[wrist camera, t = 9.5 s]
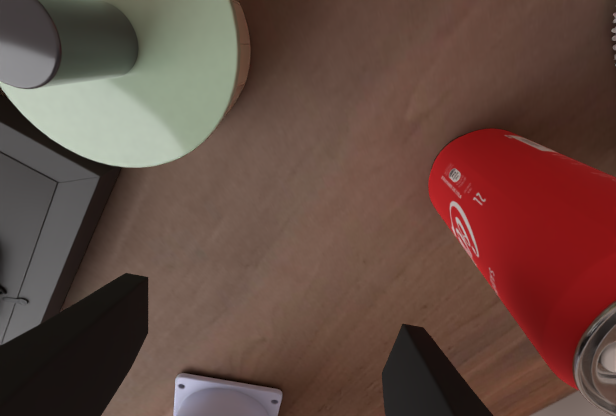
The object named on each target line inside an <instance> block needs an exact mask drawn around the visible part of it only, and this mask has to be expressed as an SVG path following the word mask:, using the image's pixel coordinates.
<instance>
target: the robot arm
mask: <svg viewBox="0 0 616 416" xmlns="http://www.w3.org/2000/svg"><path fill="white" fill-rule="evenodd" d="M147 334H148V277H144V276H139V275H133V274H128V273H125V274H123V275H122V276H120V277H118V278H117V279H115V280H113V281H112V282H110V283H108V284H107V285H105V286H103V287H102V288H100V289H98V290H97V291H95V292H94V293H92V294H90V295H89V296H87V297H85V298H84V299H82V300H80V301H79V302H77V303H75V304H74V305H72V306H70V307H69V308H67V309H65V310H64V311H62V312H60V313H58V314H57V315H55V316H53V317H52V318H50V319H48V320H46V321H45V322H43V323H41V324H39V325H38V326H36V327H34V328H32V329H30V330H28V331H26V332H25V333H23V334H21V335H19V336H17V337H15V338H14V339H12V340H10V341H8V342H6V343H4V344H3V345H1V346H0V416H101V415H102V413H103V411H104V410H105V408H106V407H107V405H108V404H109V402H110V401H111V399H112V397H113V396H114V394H115V393H116V391H117V389H118V388H119V386H120V385H121V383H122V381H123V380H124V378H125V377H126V375H127V373H128V372H129V370H130V369H131V367H132V365H133V363H134V361H135V359H136V357H137V355H138V353H139V351H140V349H141V346H142V344H143V342H144V340H145V338H146V336H147ZM382 383H383V397H384V407H385V415H386V416H493V415H492V413H491V412H490V411H489V410H488V409H487V407H486V406H485V405H484V404H483V403H482V401H481V400H480V399H479V398H478V396H477V395H476V394H475V393H474V392H473V390H472V389H471V388H470V387H469V385H468V384H467V383H466V382H465V380H464V379H463V378H462V376H461V375H460V374H459V373H458V371H457V370H456V369H455V367H454V366H453V365H452V364H451V362H450V361H449V360H448V358H447V357H446V356H445V354H444V353H443V352H442V350H441V349H440V348H439V347H438V345H437V344H436V343H435V341H434V340H433V339H432V338H431V336H430V335H429V334H428V333H427V331H426V330H425V329H424V328H423V327H417V326H412V325H406V324H402V327H401V329H400V332H399V334H398V336H397V339H396V341H395V343H394V346H393V348H392V351H391V353H390V355H389V358H388V360H387V362H386V365H385V367H384V370H383V372H382ZM281 400H282V391H281V390H279V389H275V388H269V387H263V386H257V385H251V384H246V383H240V382H234V381H228V380H222V379H216V378H210V377H204V376H198V375H193V374H187V373H180V374H178V375H177V377H176V380H175V399H174V416H278V412H279V408H280V404H281Z"/></svg>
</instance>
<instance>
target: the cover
mask: <svg viewBox="0 0 616 416" xmlns="http://www.w3.org/2000/svg"><path fill="white" fill-rule="evenodd" d="M240 55H241V48H240V34H239V27H238V22H237V16H236V11H235V8H234V5H233V2H232V0H0V87H1V89H2V90H3V91H4V93H5V94H6V95H7V97H8V98H9V99H10V101H11V102H12V103H13V104H14V105H15V106H16V108H17V109H18V110H19V111H20V112H21V113H22V114H23V115H24V116H25V117H26V118H27V119H28V120H29V121H30V122H31V123H32V124H33V125H34V126H35V127H36V128H38V129H39V130H40V131H41V132H43V133H44V134H45V135H47V136H48V137H49V138H50V139H52V140H54V141H55V142H57V143H58V144H60V145H61V146H63V147H65V148H66V149H68V150H70V151H72V152H74V153H76V154H78V155H80V156H83V157H85V158H88V159H91V160H93V161H96V162H100V163H104V164H108V165H112V166H119V167H126V168H143V167H152V166H158V165H162V164H165V163H169V162H172V161H174V160H176V159H179V158H181V157H183V156H185V155H186V154H188V153H190V152H191V151H193V150H194V149H196V148H197V147H198V146H199V145H201V144H202V143H203V142H204V141H205V140H207V139H208V138H209V137H210V135H211V134H212V133H213V132H214V131H215V130H216V129H217V128H218V126H219V125H220V123H221V121H222V120H223V118H224V117H225V115H226V113H227V111H228V109H229V107H230V105H231V102H232V100H233V97H234V94H235V90H236V87H237V82H238V77H239V71H240Z"/></svg>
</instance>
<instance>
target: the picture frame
mask: <svg viewBox="0 0 616 416" xmlns="http://www.w3.org/2000/svg"><path fill="white" fill-rule="evenodd" d="M120 169H121V167H119V166H112V165H108V164H104V163H100V162H96V161H93V160H91V159H88V158H85V157H83V156H80V155H78V154H76V153H74V152H72V151H70V150H68V149H66V148H65V147H63V146H61V145H60V144H58V143H57V142H55V141H54V140H52V139H50V138H49V137H48V136H47V135H45V134H44V133H43V132H41V131H40V130H39V129H38V128H36V127H35V126H34V125H33V124H32V123H31V122H30V121H29V120H28V119H27V118H26V117H25V116H24V115H23V114H22V113H21V112H20V111H19V110H18V109H17V108H16V106H15V105H14V104H13V103H12V102H11V101H10V100H9V99H7V98H5V97H4V96H2V95H0V346H1V345H3V344H4V343H6V342H8V341H10V340H12V339H14V338H15V337H17V336H19V335H21V334H23V333H25V332H26V331H28V330H30V329H32V328H34V327H36V326H38V325H39V324H41V323H43V322H45V321H46V320H48V319H50V318H52V317H53V316H55V315H57V314H58V313H59V311H60V309H61V306H62V304H63V302H64V299H65V297H66V295H67V292H68V290H69V288H70V285H71V283H72V281H73V278H74V276H75V274H76V271H77V269H78V267H79V264H80V262H81V260H82V258H83V255H84V253H85V251H86V248H87V246H88V244H89V241H90V239H91V237H92V234H93V232H94V230H95V227H96V225H97V223H98V220H99V218H100V216H101V213H102V211H103V209H104V206H105V204H106V202H107V199H108V197H109V195H110V192H111V190H112V188H113V185H114V183H115V181H116V179H117V176H118V174H119V172H120Z"/></svg>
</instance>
